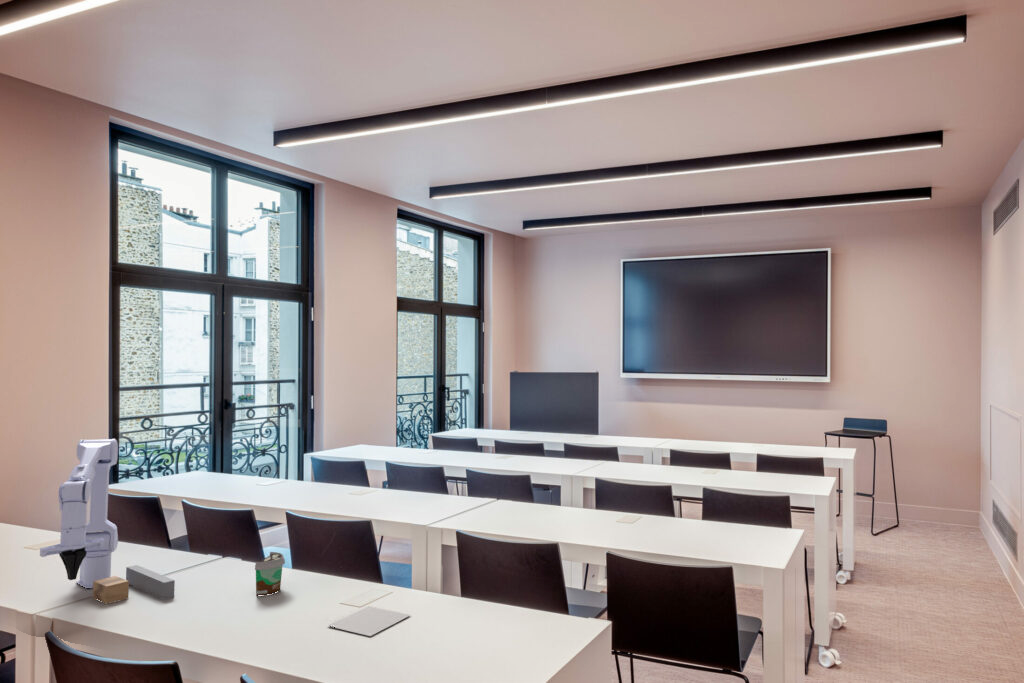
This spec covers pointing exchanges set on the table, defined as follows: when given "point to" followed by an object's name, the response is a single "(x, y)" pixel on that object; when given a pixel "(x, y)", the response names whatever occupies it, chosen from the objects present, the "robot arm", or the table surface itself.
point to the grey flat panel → (369, 620)
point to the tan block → (110, 589)
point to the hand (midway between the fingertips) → (71, 578)
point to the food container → (269, 574)
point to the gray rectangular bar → (150, 582)
